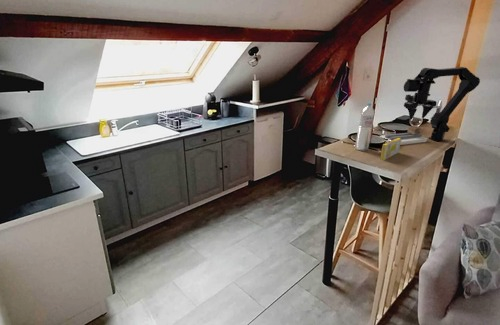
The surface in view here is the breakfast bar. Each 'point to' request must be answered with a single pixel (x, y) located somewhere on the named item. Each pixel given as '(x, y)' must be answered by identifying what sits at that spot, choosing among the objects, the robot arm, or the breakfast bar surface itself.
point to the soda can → (371, 133)
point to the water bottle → (365, 128)
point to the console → (406, 138)
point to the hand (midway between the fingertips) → (416, 118)
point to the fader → (413, 130)
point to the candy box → (390, 148)
